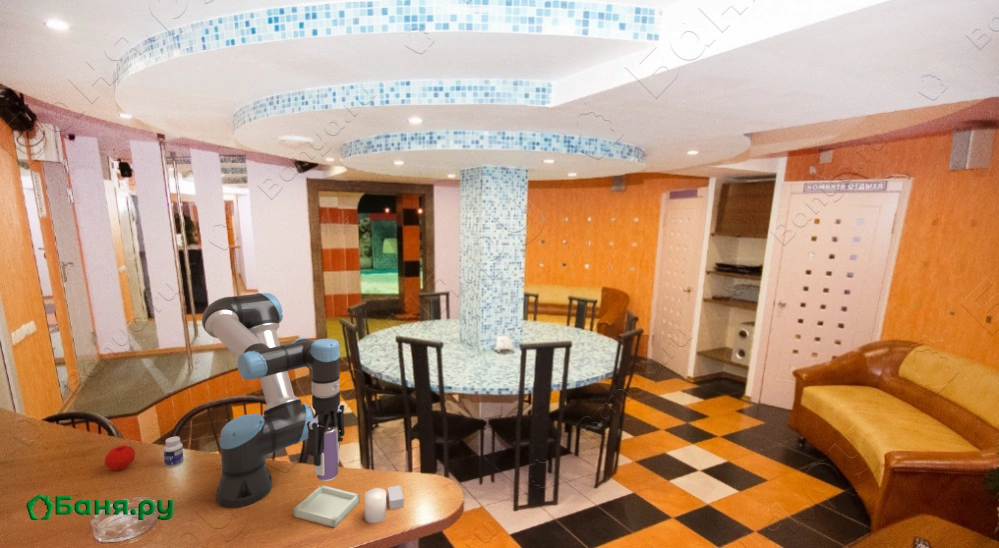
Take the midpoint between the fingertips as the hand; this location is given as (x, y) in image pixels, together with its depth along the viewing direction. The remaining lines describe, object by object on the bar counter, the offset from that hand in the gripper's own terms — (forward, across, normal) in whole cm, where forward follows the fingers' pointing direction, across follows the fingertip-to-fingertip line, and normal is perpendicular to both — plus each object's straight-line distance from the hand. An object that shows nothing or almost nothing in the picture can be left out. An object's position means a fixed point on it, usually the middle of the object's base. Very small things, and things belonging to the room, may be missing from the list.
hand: (327, 467), depth 129 cm
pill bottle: (+13, +2, +64) cm, 66 cm away
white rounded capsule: (+13, +2, -15) cm, 20 cm away
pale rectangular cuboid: (+14, +10, -17) cm, 24 cm away
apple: (+13, -6, +77) cm, 79 cm away
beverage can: (+3, 0, 0) cm, 3 cm away
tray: (+13, 0, 0) cm, 13 cm away
